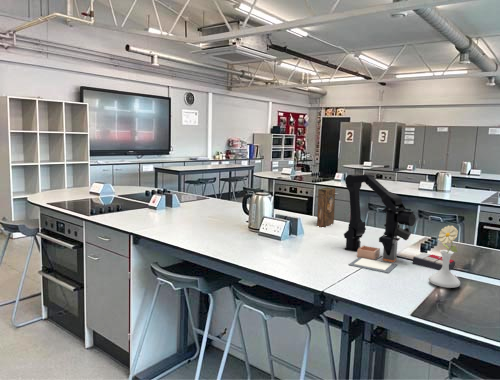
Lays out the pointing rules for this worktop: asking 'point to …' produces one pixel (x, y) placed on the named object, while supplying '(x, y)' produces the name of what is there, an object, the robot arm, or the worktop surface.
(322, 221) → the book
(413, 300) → the worktop surface
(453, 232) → the flower in vase
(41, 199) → the worktop surface
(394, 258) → the grey square block
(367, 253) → the copper square tube
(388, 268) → the writing mat
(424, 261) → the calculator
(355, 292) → the worktop surface
